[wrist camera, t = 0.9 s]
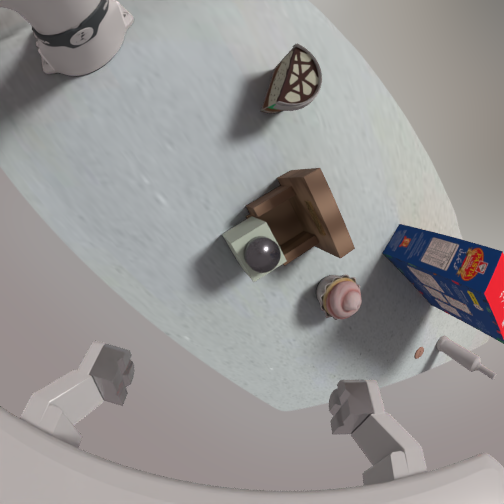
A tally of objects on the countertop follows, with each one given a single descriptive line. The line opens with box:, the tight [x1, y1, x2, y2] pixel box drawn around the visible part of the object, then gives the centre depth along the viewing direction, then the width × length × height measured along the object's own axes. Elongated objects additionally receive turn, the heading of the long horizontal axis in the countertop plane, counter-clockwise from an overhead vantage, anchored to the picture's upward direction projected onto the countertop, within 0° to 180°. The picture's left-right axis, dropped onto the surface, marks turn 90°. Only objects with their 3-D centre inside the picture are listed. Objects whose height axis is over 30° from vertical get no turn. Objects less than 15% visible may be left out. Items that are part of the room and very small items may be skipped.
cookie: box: [415, 347, 424, 359], centre depth 73 cm, size 4×4×1 cm
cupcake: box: [316, 275, 362, 320], centre depth 53 cm, size 9×9×10 cm
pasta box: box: [383, 224, 504, 344], centre depth 51 cm, size 28×8×28 cm, turn 54°
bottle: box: [436, 336, 496, 380], centre depth 64 cm, size 5×5×25 cm
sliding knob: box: [222, 216, 287, 282], centre depth 46 cm, size 7×6×10 cm
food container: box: [261, 44, 322, 113], centre depth 42 cm, size 12×6×10 cm, turn 163°
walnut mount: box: [246, 168, 355, 266], centre depth 47 cm, size 14×11×11 cm
